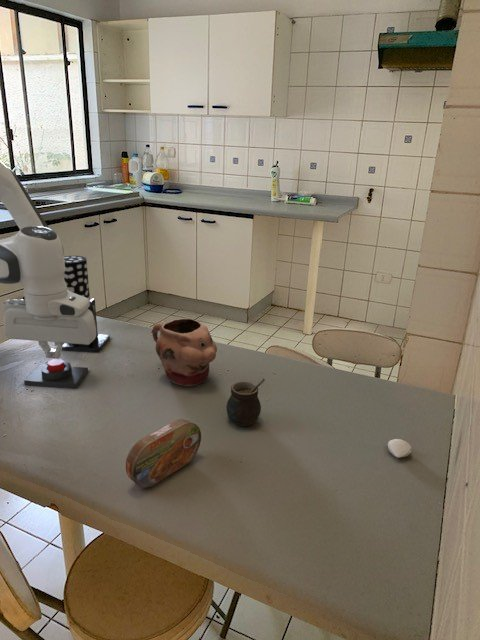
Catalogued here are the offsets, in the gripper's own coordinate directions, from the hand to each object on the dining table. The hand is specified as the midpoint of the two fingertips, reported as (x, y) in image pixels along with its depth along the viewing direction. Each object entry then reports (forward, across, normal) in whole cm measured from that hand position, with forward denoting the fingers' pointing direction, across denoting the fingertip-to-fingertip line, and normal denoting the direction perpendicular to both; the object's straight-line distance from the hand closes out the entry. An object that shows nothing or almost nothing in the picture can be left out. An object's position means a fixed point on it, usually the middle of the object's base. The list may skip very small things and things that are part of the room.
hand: (53, 357), depth 108 cm
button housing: (+6, 0, 0) cm, 6 cm away
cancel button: (+3, 0, 0) cm, 3 cm away
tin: (+5, +32, -29) cm, 44 cm away
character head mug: (+6, +29, +5) cm, 30 cm away
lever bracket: (+6, 0, +19) cm, 20 cm away
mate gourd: (+5, +45, -12) cm, 47 cm away
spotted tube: (+6, -8, +33) cm, 34 cm away
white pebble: (+5, +76, -20) cm, 78 cm away
